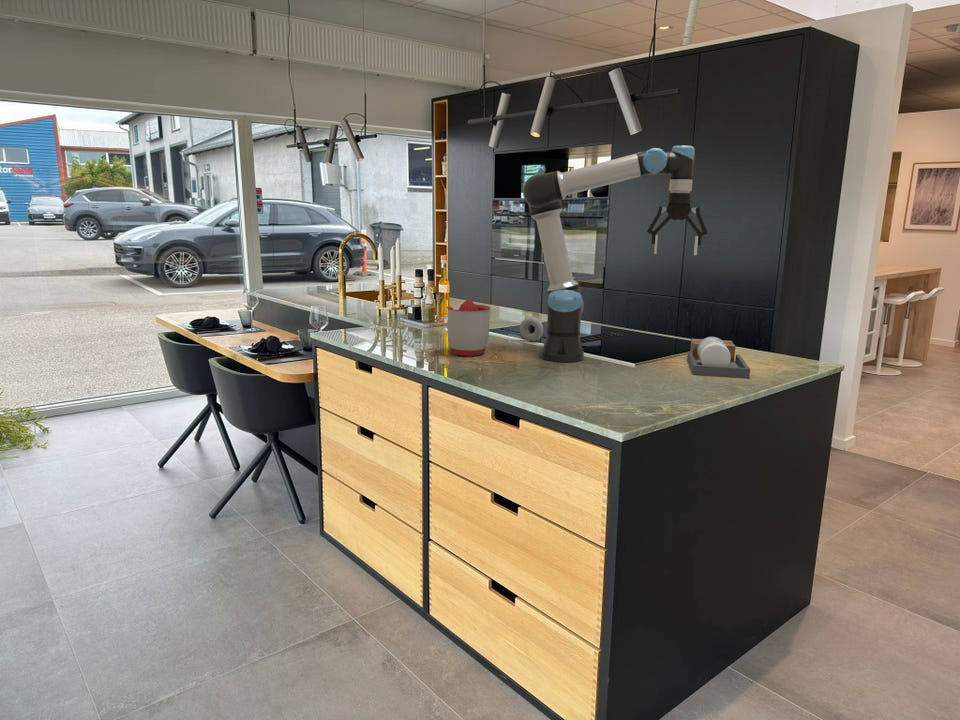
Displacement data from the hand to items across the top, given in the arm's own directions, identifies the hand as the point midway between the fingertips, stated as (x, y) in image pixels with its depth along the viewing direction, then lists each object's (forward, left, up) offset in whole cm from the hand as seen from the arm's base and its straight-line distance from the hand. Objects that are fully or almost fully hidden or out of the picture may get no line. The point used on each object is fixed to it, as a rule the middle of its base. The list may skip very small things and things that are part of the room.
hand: (675, 254), depth 239 cm
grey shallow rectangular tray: (+22, 0, -37) cm, 43 cm away
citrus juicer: (-39, -62, -37) cm, 82 cm away
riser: (+11, +11, -37) cm, 40 cm away
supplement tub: (+16, +4, -31) cm, 36 cm away
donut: (-45, -28, -37) cm, 65 cm away
